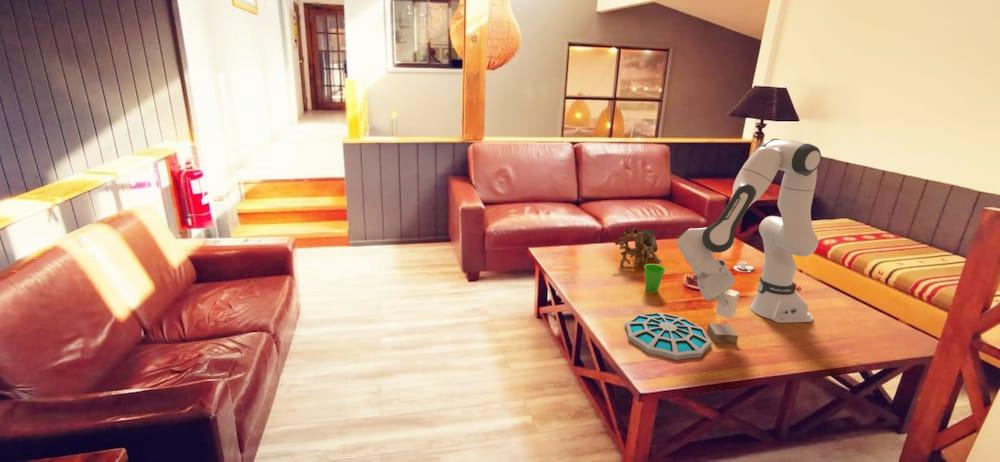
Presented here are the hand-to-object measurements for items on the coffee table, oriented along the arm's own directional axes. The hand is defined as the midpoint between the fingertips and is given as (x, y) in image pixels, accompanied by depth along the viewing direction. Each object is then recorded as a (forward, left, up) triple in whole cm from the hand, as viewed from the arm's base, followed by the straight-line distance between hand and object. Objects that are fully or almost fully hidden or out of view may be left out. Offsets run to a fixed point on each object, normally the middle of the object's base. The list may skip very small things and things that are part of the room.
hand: (729, 302), depth 175 cm
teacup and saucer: (-34, -66, -15) cm, 76 cm away
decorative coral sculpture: (+20, -71, -15) cm, 76 cm away
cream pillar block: (+1, 0, -5) cm, 5 cm away
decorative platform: (+21, +2, -15) cm, 26 cm away
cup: (+18, -38, -15) cm, 45 cm away
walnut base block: (0, 0, -15) cm, 15 cm away
